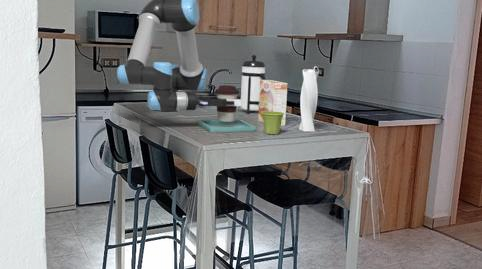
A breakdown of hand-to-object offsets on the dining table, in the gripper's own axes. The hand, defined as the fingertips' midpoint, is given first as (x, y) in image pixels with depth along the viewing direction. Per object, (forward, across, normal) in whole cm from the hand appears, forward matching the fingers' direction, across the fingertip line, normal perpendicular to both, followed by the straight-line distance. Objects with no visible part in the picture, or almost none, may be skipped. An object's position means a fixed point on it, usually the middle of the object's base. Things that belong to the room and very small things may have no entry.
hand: (237, 101), depth 215 cm
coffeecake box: (+21, -9, -12) cm, 25 cm away
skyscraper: (+29, +12, -12) cm, 33 cm away
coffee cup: (-5, 0, -9) cm, 10 cm away
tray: (-4, 0, -12) cm, 12 cm away
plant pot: (+11, +15, -12) cm, 22 cm away
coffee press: (+25, -43, -11) cm, 51 cm away
